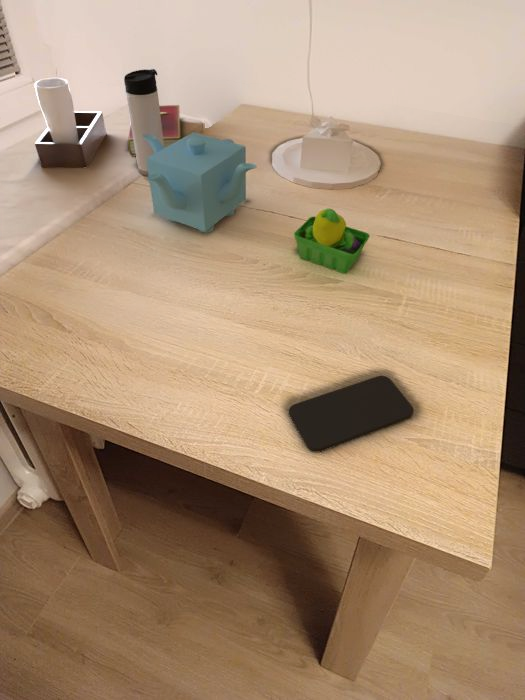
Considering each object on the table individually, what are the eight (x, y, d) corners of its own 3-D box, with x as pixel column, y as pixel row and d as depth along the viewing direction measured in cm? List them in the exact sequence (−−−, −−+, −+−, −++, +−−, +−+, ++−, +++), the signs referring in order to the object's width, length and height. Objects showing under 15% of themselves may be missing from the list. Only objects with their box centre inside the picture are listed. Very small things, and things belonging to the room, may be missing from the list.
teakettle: (236, 188, 106) (235, 117, 96) (258, 235, 94) (259, 158, 83) (147, 198, 103) (135, 125, 92) (157, 248, 90) (144, 169, 80)
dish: (380, 194, 106) (390, 140, 98) (263, 183, 108) (265, 130, 100) (379, 146, 123) (388, 98, 115) (279, 138, 126) (281, 90, 118)
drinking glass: (87, 147, 117) (71, 77, 107) (80, 160, 112) (63, 88, 102) (58, 147, 117) (39, 77, 106) (50, 160, 112) (29, 88, 102)
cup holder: (41, 167, 112) (34, 143, 108) (66, 132, 126) (60, 110, 122) (86, 168, 112) (81, 144, 108) (106, 133, 126) (102, 111, 122)
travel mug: (171, 173, 111) (160, 74, 97) (141, 178, 109) (125, 78, 95) (164, 162, 115) (152, 65, 101) (135, 166, 113) (119, 68, 99)
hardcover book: (129, 156, 117) (126, 138, 114) (134, 122, 131) (132, 105, 128) (181, 154, 118) (179, 136, 115) (180, 120, 133) (179, 104, 130)
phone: (285, 406, 64) (385, 372, 68) (285, 410, 64) (384, 376, 68) (312, 452, 59) (418, 413, 63) (311, 456, 59) (416, 417, 64)
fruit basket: (366, 258, 89) (378, 200, 81) (346, 284, 83) (357, 224, 75) (309, 239, 93) (315, 182, 85) (286, 263, 87) (290, 204, 79)
